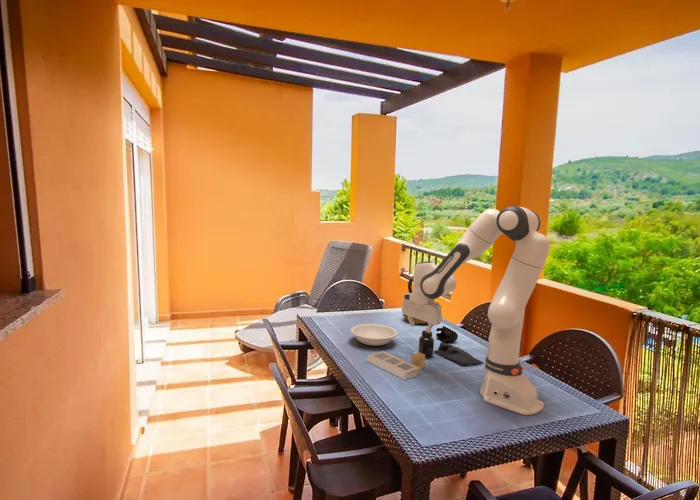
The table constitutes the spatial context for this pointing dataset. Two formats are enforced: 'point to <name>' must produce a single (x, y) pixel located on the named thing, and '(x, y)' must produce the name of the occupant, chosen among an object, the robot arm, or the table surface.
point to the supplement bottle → (426, 344)
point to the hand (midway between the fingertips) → (419, 329)
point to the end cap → (446, 335)
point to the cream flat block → (394, 365)
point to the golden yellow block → (418, 359)
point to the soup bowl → (373, 334)
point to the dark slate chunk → (456, 355)
